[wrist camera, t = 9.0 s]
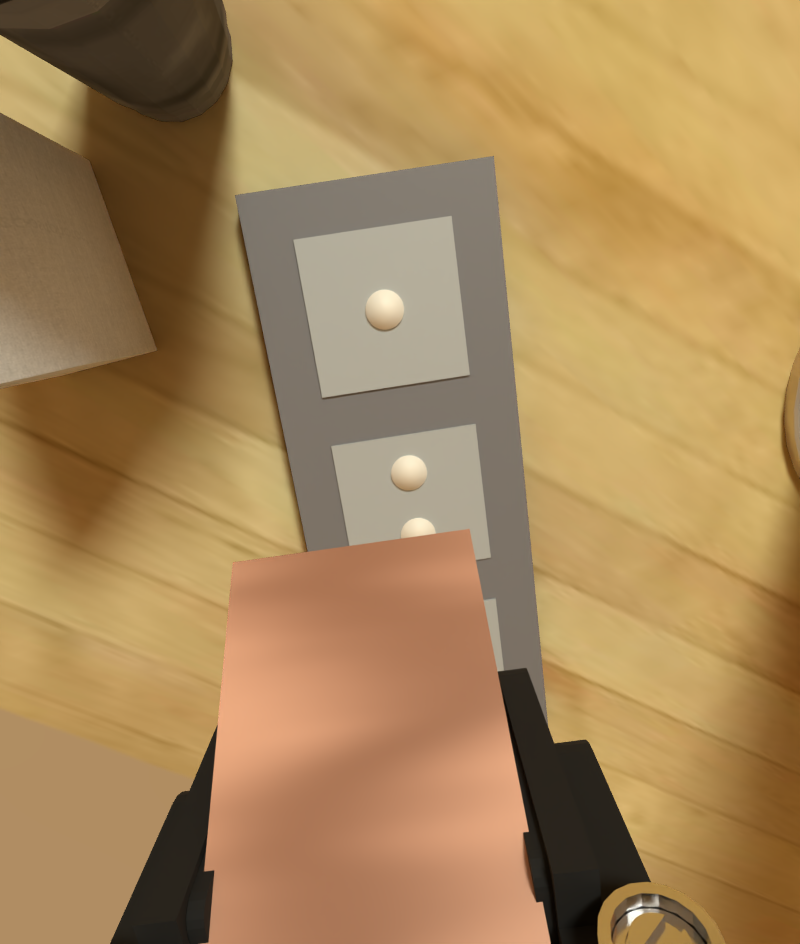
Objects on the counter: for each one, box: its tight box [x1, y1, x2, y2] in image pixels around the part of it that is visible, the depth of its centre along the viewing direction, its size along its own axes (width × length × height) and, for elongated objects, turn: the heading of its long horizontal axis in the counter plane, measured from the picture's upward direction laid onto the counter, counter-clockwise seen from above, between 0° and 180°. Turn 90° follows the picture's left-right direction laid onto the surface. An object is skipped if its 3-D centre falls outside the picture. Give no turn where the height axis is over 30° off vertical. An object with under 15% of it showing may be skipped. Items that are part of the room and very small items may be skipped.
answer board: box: [235, 156, 548, 725], centre depth 24 cm, size 9×24×1 cm, turn 8°
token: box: [202, 529, 551, 944], centre depth 10 cm, size 4×4×6 cm
